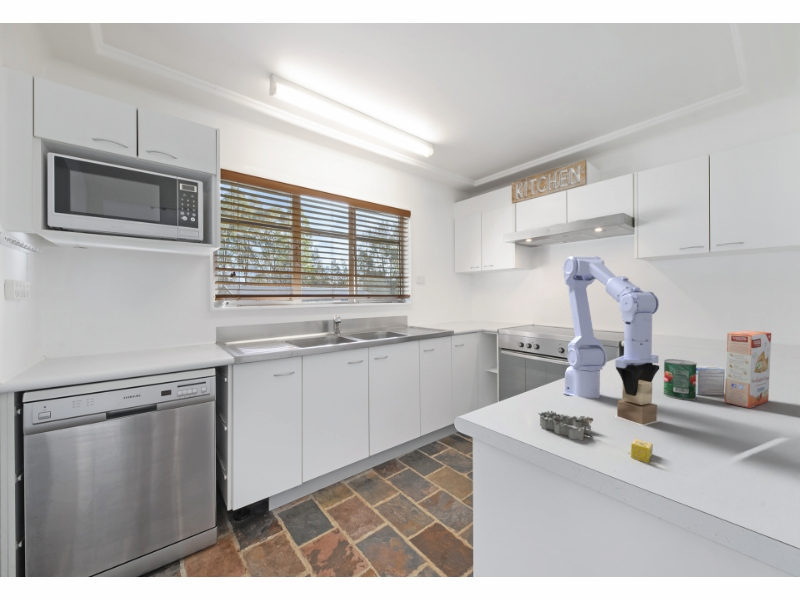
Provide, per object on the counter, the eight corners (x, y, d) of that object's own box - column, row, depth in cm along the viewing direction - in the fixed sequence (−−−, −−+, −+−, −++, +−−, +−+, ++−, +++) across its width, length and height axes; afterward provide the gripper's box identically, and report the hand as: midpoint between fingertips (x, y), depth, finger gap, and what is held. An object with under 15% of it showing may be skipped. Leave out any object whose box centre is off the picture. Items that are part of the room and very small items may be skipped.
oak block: (622, 399, 87) (622, 380, 87) (632, 397, 89) (633, 378, 89) (641, 405, 83) (641, 384, 83) (651, 402, 85) (652, 382, 85)
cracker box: (751, 409, 95) (753, 334, 94) (723, 403, 100) (724, 332, 100) (771, 402, 101) (772, 331, 101) (743, 396, 107) (744, 329, 106)
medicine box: (713, 392, 112) (713, 365, 112) (724, 396, 107) (725, 368, 107) (687, 391, 112) (687, 365, 112) (697, 395, 108) (698, 368, 108)
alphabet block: (652, 458, 67) (652, 442, 67) (649, 463, 65) (649, 448, 65) (634, 452, 70) (634, 438, 70) (630, 458, 67) (630, 443, 67)
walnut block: (617, 416, 88) (617, 401, 88) (631, 412, 90) (631, 397, 90) (642, 424, 82) (642, 408, 82) (656, 420, 85) (656, 404, 85)
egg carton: (595, 436, 78) (596, 418, 78) (576, 443, 74) (576, 425, 74) (553, 420, 87) (554, 405, 87) (534, 426, 84) (535, 410, 83)
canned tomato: (657, 392, 112) (658, 358, 111) (684, 393, 110) (685, 359, 110) (673, 399, 104) (674, 363, 103) (702, 400, 103) (703, 364, 102)
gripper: (636, 343, 79) (636, 401, 79) (672, 340, 85) (671, 394, 86) (607, 340, 86) (606, 393, 86) (642, 336, 92) (641, 386, 92)
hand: (636, 393), depth 86 cm, fingers closed on oak block, 4 cm apart
